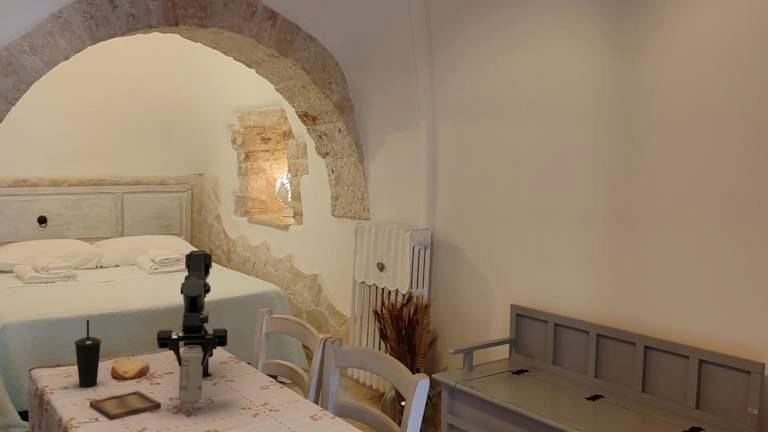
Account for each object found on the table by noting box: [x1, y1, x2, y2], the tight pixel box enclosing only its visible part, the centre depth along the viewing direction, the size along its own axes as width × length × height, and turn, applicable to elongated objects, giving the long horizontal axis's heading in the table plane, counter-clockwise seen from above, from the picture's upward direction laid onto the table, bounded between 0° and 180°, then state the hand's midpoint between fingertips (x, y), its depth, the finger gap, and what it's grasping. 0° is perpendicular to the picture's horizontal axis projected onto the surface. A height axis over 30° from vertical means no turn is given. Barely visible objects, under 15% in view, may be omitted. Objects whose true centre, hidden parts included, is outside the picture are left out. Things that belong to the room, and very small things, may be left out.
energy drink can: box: [178, 345, 204, 405], centre depth 191 cm, size 6×6×15 cm
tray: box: [89, 390, 162, 421], centre depth 193 cm, size 14×14×2 cm
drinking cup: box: [73, 319, 102, 389], centre depth 211 cm, size 8×8×20 cm
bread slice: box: [110, 356, 150, 381], centre depth 228 cm, size 18×18×4 cm
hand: (191, 365), depth 189 cm, fingers closed on energy drink can, 6 cm apart
